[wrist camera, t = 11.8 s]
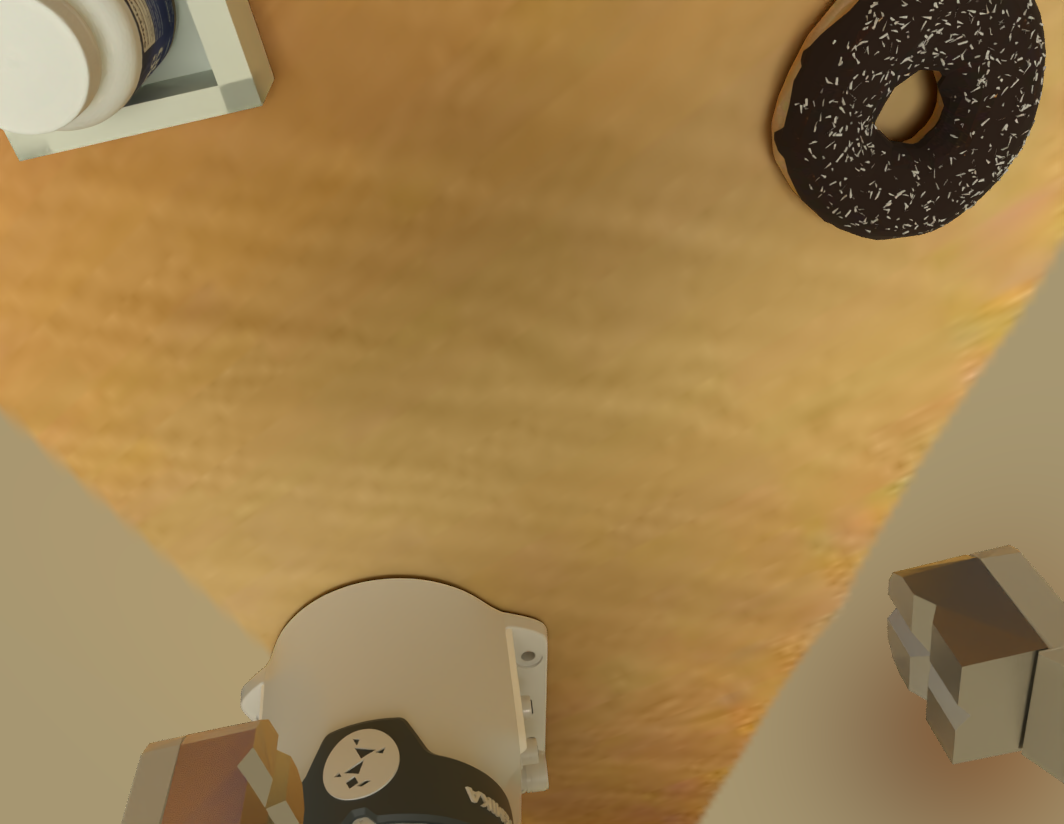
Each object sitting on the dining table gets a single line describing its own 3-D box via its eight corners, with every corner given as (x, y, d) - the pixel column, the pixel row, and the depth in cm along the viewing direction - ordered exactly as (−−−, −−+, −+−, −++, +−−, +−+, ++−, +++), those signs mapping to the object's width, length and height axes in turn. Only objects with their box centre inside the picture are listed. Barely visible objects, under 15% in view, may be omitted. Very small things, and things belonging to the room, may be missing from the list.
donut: (726, 191, 41) (755, 223, 38) (839, -96, 36) (884, -87, 32) (933, 240, 44) (976, 274, 41) (1069, -18, 38) (1133, -3, 35)
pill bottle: (83, 98, 35) (-9, 187, 27) (-11, -47, 32) (-145, 4, 24) (209, 45, 34) (154, 119, 26) (127, -107, 31) (37, -76, 23)
